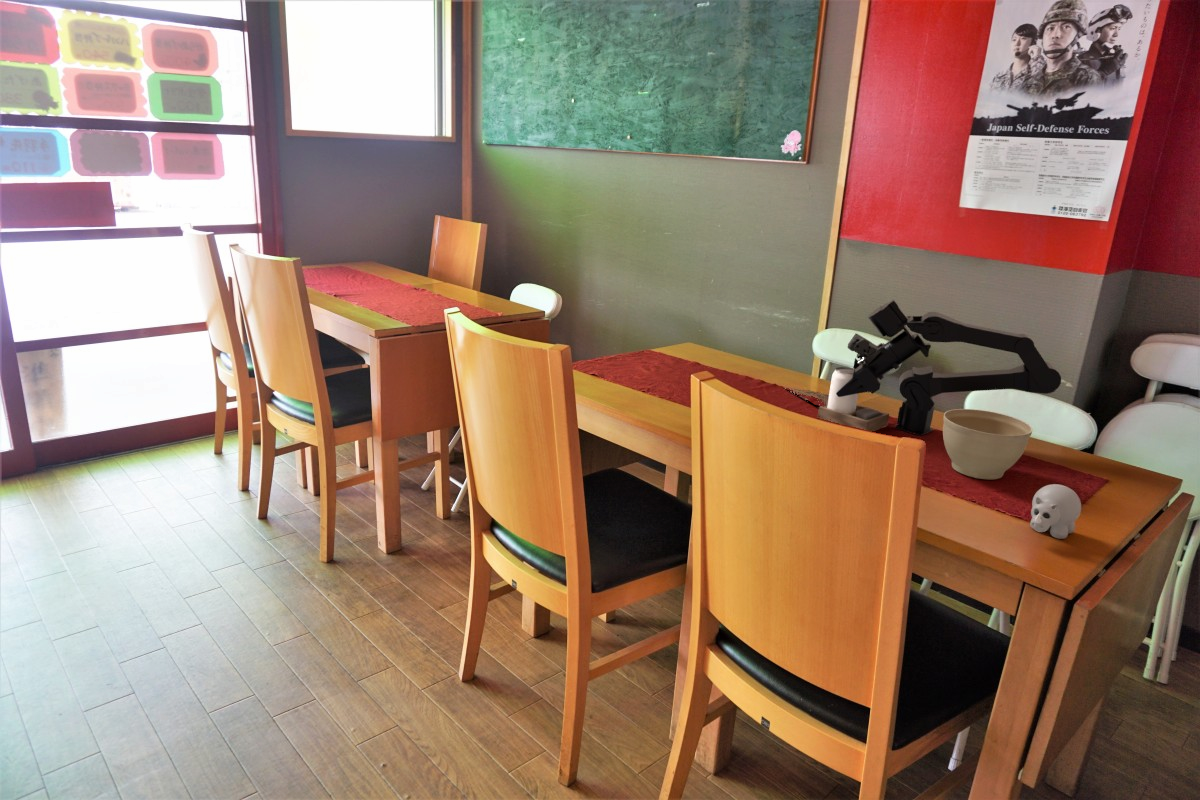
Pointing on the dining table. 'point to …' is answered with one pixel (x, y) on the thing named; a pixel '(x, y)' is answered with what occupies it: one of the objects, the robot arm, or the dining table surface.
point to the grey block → (867, 414)
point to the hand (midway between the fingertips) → (837, 391)
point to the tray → (854, 418)
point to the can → (837, 382)
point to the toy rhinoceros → (1055, 510)
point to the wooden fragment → (812, 393)
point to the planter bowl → (984, 441)
